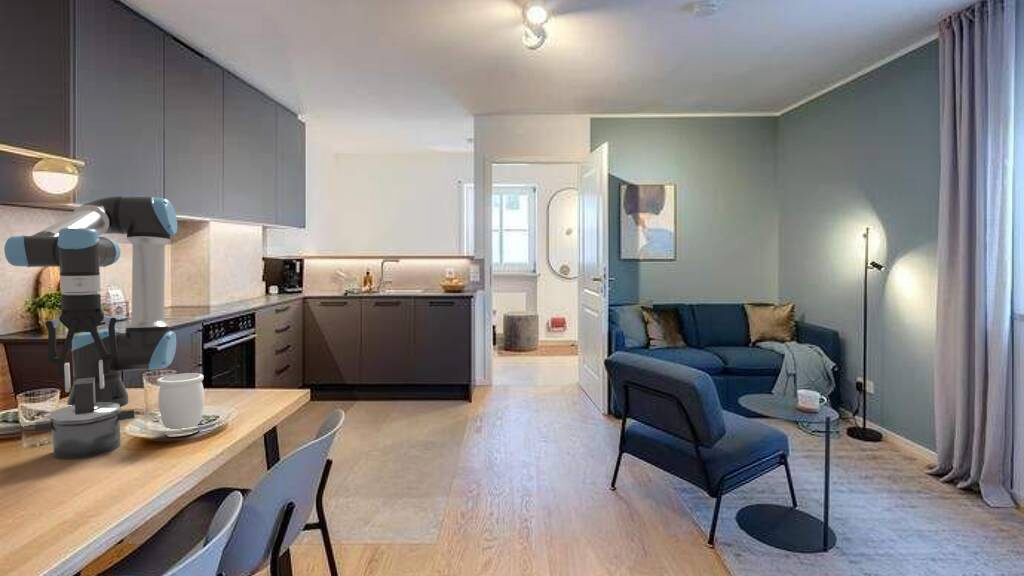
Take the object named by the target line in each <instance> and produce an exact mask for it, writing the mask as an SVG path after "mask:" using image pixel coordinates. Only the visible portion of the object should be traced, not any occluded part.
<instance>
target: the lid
mask: <svg viewBox="0 0 1024 576" xmlns="http://www.w3.org/2000/svg"><path fill="white" fill-rule="evenodd" d="M73 384H74V383H73ZM74 394H75V405H73V406H68V407H67V406H64V407H61V408H58V409H55V410H52V411H51V412H50V413H49V421H50V420H52V421H55V422H78V421H86V420H93V419H98V418H102V417H106V416H110V415H113V414H115V413H117V412H119V411H120V408H121V406H120V404H118V403H114V402H96V395H95V377H91V378H80V379H77V380H76V382H75V384H74Z"/></svg>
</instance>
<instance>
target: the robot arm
mask: <svg viewBox="0 0 1024 576" xmlns="http://www.w3.org/2000/svg"><path fill="white" fill-rule="evenodd" d="M177 233H178V218H177V215H176V210H175V208H174V206H173V204H172V202H170V200H169V199H166V198H162V197H154V196H151V197H150V196H137V197H136V196H106V197H103V198H99V199H95V200H92V201H88V202H86V203H84V204H82V205H80V206H78V207H76V208H74V210H73V211H72V213H71V214H70V215H69V216H67V217H64V218H62V219H61V220H59V221H57V222H55V223H53V224H52V225H49V226H48V227H46V228H44V229H42V230H40V231H38V232H36V233H35V234H32V235H23V234H22V235H14V236H10V237H9V238H7V240H6V241H5V243H4V248H3V251H4V255H5V259H6V261H7V262H8V264H9V265H11V266H14V267H27V268H31V267H32V268H38V267H39V268H43V267H44V268H46V267H47V268H48V267H51V268H52V267H55V268H56V267H57V268H58V267H59V282H60V285H59V287H60V292H61V293H63V294H62V295H61V296H60V307H61V308H60V309H61V314H60V315H59V317H57V318H54V319H48V320H47V321H45V323H44V325H45V326H46V329H47V331H48V333H47V334H48V339H47V345H48V346H47V363H49V364H56V365H57V368H58V370H57V371H58V378H59V379H64V389H65V390H64V391H65V393H70V394H69V395H68V398H67V402H66V406H67V405H72V406H73V405H75V394H74V384H75V382H76V380H77V379H80V378H91V377H95V395H96V402H114V403H118V404H120V407H122V406H124V405H126V404H129V393H128V392H127V389H126V387H125V384H124V382H123V380H122V377H121V372H122V371H125V372H126V371H145V370H147V371H148V370H149V371H154V370H160V369H161V370H162V369H166V368H168V367H169V366H170V365H171V363H172V362H173V359H174V357H175V355H176V352H177V351H176V350H177V335H176V332H175V331H172V330H171V329H170V327H171V326H170V324H169V323H167V322H166V320H165V275H166V273H165V272H166V270H165V268H166V267H165V263H166V262H165V261H166V258H165V255H166V253H165V252H166V245H168V244H169V243H170V242H171V236H174V235H176V234H177ZM104 234H105V235H107V234H111V235H112V234H115V235H118V234H119V235H126V240H127V241H128V243H130V244H132V245H131V246H132V259H131V260H132V262H131V264H132V270H131V277H132V278H131V321H130V323H128V324H126V326H125V332H120V330H119V328H118V327H116V323H117V320H118V319H117V317H116V316H108V315H105V314H104V313H103V312H102V297H101V296H102V295H101V294H100V293H98V292H100V291H101V274H100V273H101V272H100V268H102V267H103V268H104V267H109V266H111V265H113V264H116V262H118V260H119V259H120V257H121V248H120V246H119V244H118V243H117V242H116V241H115V240H113V239H111V238H108V237H106V236H102V235H104ZM102 321H104V323H105V325H106V326H108V328H103V329H98V326H99V325H100V324H101V323H102ZM60 323H62V325H63V326H64V327H65V328H66V329H67V333H66V337H65V341H63V346H62V348H61V351H60V355H59V357H58V356H57V328H59V326H60ZM70 348H71V350H70ZM69 351H71V358H72V375H73V377H72V378H73V385H72V386H71V371H70V370H71V369H70V362H66V360H67V358H68V354H69Z"/></svg>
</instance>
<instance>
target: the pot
mask: <svg viewBox="0 0 1024 576" xmlns="http://www.w3.org/2000/svg"><path fill="white" fill-rule="evenodd" d="M121 409H122V407H120V411H119V412H117V413H115V414H113V415H110V416H106V417H102V418H98V419H93V420H86V421H78V422H55V421H52V420H50V419H49V420H45V421H44V420H43V421H36V422H35V424H34V432H42V431H49V430H52V431H51V432H52V451H53V457H54V458H56V459H58V460H80V459H88V458H93V457H97V456H102V455H104V454H108V453H110V452H113V451H115V450H117V449H119V447H120V446H121V445H122V443H121V440H122V439H121V438H122V437H121V422H120V421H125V420H129V419H131V420H132V419H135V410H134V409H131V410H123V411H122V410H121Z"/></svg>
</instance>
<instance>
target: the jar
mask: <svg viewBox="0 0 1024 576" xmlns="http://www.w3.org/2000/svg"><path fill="white" fill-rule="evenodd" d="M203 380H204V374H202V373H198V372H197V373H196V372H195V373H194V372H192V373H191V372H186V373H185V372H184V373H183V372H182V373H177V374H170V375H165V376H162V377H160V378H157V385H159V390H158V401H157V403H158V408H159V413H160V418H161V421H162V424H163V426H164V428H165V427H166V428H170V429H182V428H189V427H193V426H196V425H198V424H200V423H201V420H202V417H203V414H204V407H205V406H204V405H205V389H204V385H203V383H202V381H203ZM166 428H165V429H166Z"/></svg>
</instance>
